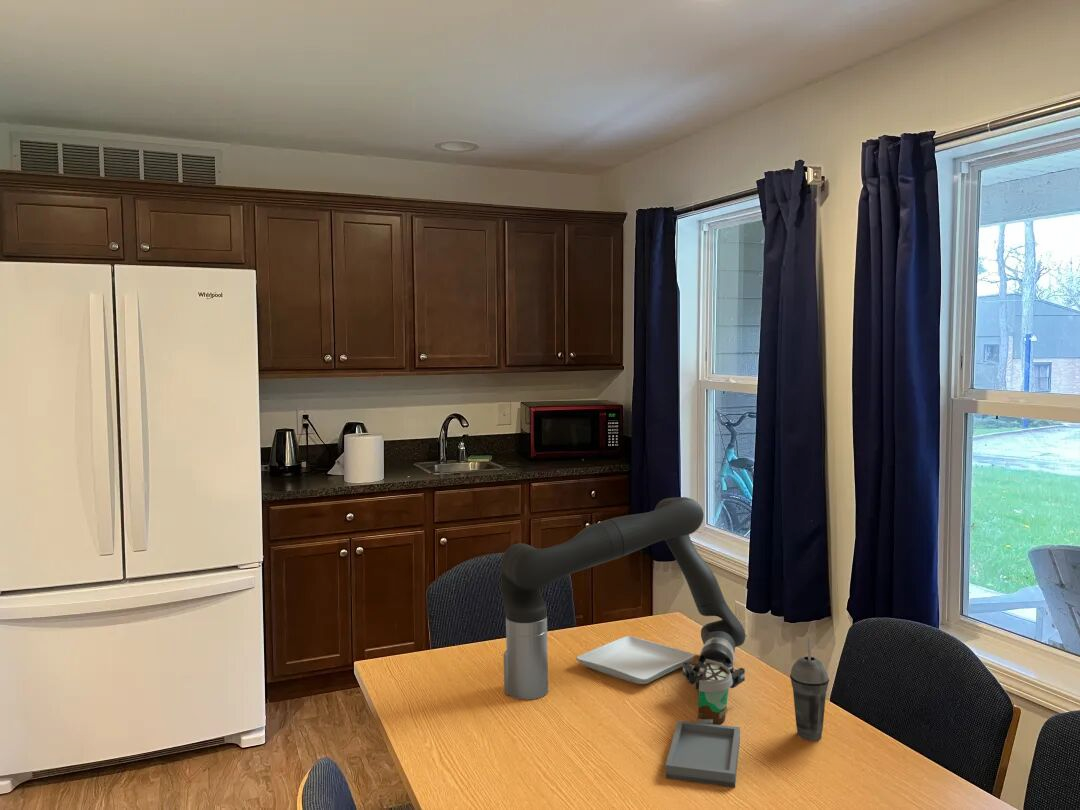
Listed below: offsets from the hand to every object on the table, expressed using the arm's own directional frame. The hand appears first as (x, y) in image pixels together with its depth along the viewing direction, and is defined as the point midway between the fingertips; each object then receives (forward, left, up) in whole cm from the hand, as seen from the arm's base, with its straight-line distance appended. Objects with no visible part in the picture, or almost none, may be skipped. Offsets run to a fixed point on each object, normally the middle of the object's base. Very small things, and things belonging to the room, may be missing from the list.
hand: (709, 688), depth 164 cm
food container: (+1, 0, -6) cm, 7 cm away
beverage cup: (+20, -3, -7) cm, 21 cm away
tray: (+1, -17, -6) cm, 18 cm away
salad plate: (-19, +23, -7) cm, 31 cm away
